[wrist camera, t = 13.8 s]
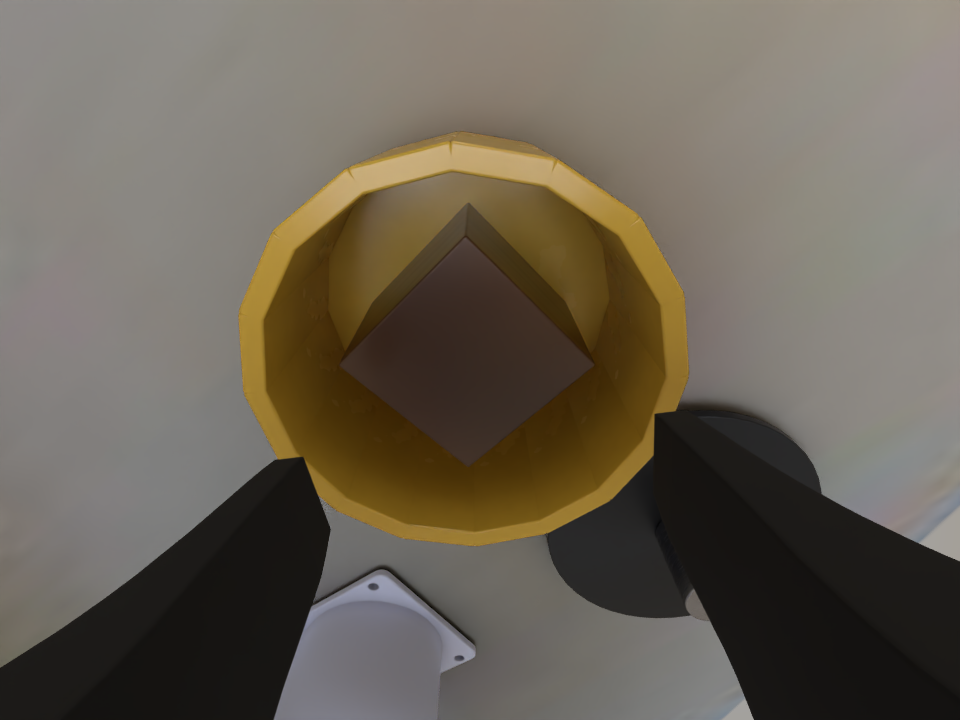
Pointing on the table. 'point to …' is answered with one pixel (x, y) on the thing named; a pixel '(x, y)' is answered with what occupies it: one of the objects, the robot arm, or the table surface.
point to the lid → (655, 532)
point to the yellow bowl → (380, 259)
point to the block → (467, 340)
